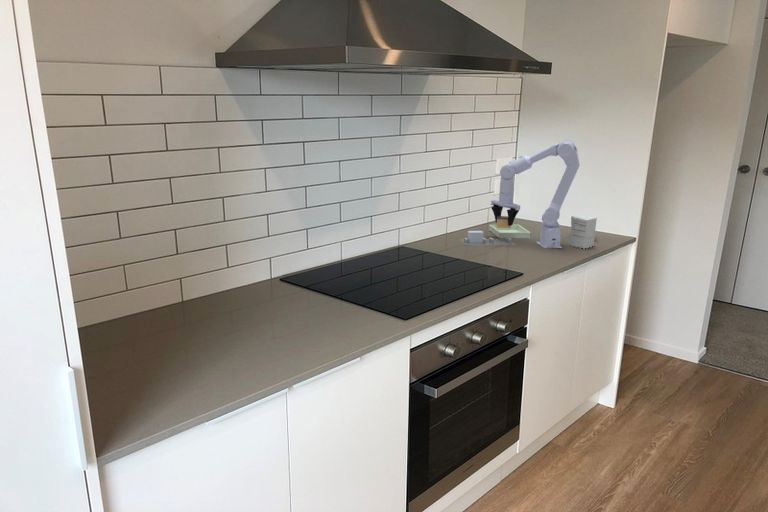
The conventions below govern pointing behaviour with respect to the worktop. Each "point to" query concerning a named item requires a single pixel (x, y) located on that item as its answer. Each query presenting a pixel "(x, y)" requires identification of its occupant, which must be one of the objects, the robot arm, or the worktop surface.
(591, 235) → the supplement box
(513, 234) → the parts tray
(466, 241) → the fuse board
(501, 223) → the block
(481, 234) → the fuse
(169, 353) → the worktop surface
